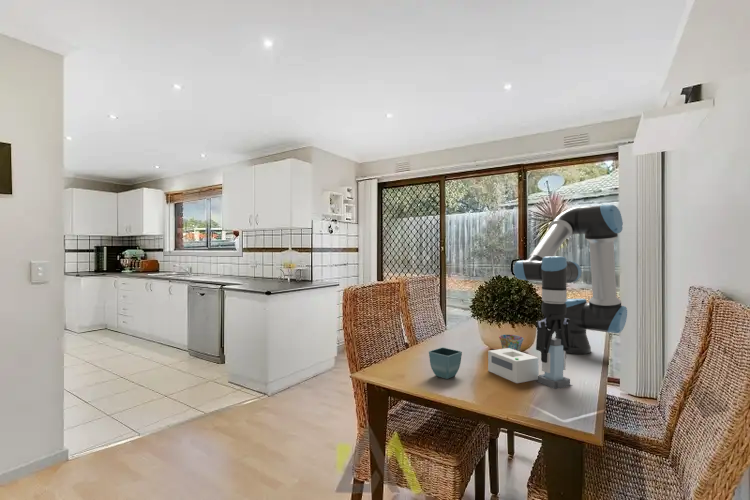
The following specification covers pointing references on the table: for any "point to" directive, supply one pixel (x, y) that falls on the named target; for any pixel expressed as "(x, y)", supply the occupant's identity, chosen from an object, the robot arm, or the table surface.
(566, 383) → the holster
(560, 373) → the plug
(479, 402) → the table surface
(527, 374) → the port panel
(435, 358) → the flower pot
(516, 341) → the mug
